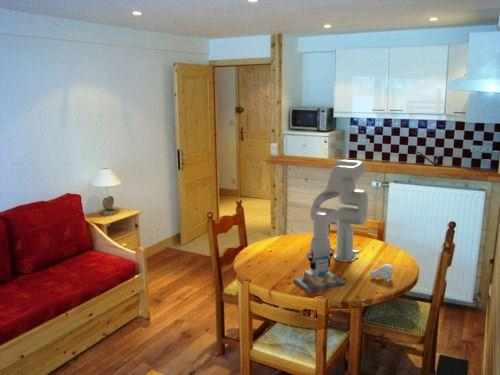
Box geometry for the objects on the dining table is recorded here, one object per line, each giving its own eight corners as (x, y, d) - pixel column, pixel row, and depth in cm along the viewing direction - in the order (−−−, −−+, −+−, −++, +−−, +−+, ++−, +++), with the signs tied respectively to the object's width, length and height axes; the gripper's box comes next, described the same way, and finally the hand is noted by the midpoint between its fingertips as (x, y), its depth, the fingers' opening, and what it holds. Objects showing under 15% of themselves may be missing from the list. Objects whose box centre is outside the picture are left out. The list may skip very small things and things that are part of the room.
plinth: (328, 273, 252) (329, 263, 251) (346, 285, 238) (346, 274, 237) (293, 281, 244) (293, 270, 242) (309, 293, 229) (309, 282, 228)
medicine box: (317, 275, 236) (317, 259, 234) (311, 272, 239) (311, 257, 237) (328, 271, 240) (328, 256, 238) (322, 269, 244) (322, 253, 242)
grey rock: (393, 266, 238) (369, 267, 241) (394, 282, 240) (370, 282, 243) (392, 262, 244) (369, 262, 247) (393, 277, 246) (370, 277, 249)
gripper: (331, 231, 242) (330, 262, 246) (302, 236, 235) (302, 267, 239) (339, 235, 235) (338, 267, 239) (310, 240, 228) (309, 273, 232)
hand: (320, 267), depth 239 cm, fingers closed on medicine box, 8 cm apart
